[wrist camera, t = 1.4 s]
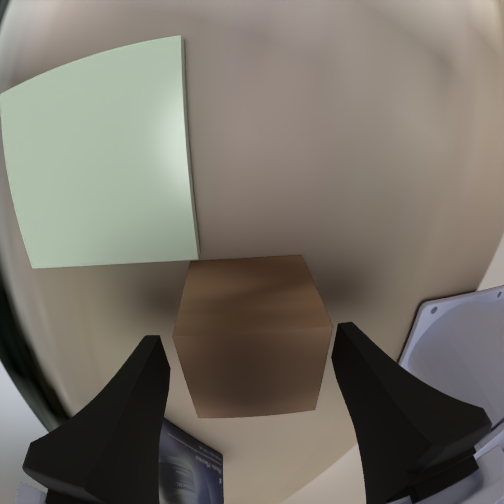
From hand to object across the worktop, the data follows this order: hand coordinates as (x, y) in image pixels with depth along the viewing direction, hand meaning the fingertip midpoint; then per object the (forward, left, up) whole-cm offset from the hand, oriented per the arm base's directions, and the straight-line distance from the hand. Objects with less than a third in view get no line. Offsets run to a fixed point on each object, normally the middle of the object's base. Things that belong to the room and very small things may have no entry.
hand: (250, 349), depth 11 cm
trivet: (+6, -7, -3) cm, 10 cm away
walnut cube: (0, 0, -3) cm, 3 cm away
